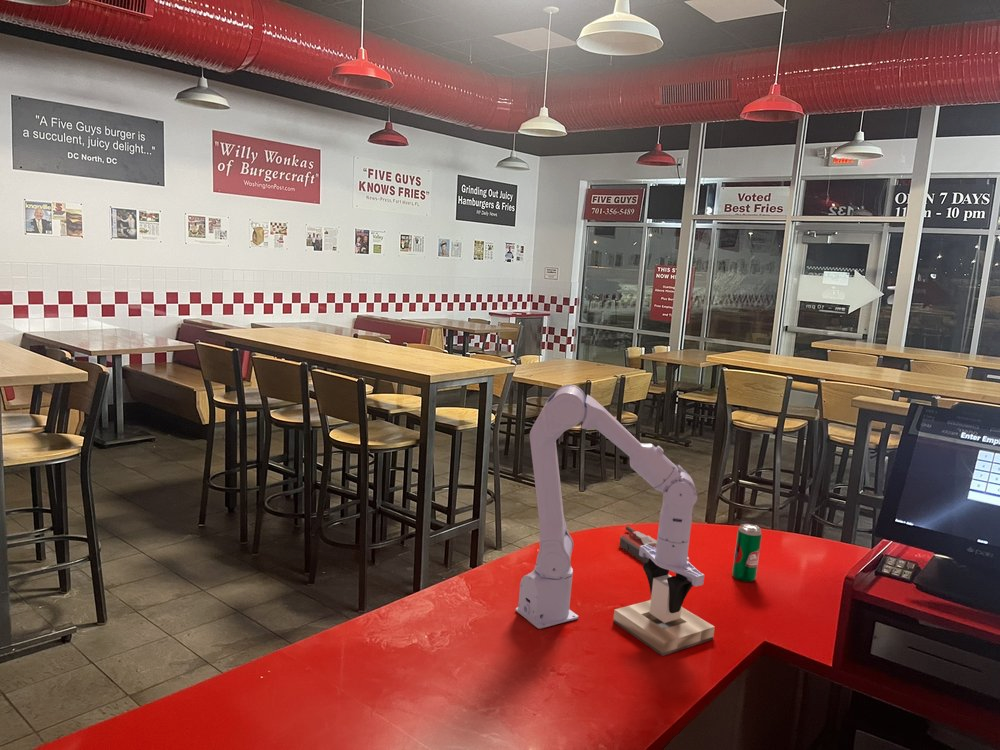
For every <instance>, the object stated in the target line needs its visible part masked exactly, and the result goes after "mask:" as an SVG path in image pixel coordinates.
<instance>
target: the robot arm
mask: <svg viewBox="0 0 1000 750" xmlns="http://www.w3.org/2000/svg"><path fill="white" fill-rule="evenodd" d="M580 423H581V426H580V429H582V430H596V431H598V432H599V433H600V434H602V435H603V436H604V437H605V438H606V439H608V440H609V441H610V442H611V443H612V444H614V445H615V446H616V447H617V448H618V449H619V450H621V451H622V452H623V453H624V454H625V455H627V456H628V457H629V466H630V468H631V469H632V470H634V471H635V473H637V475H638V476H640V477H641V478H642V479H643V480H644V481H645V482H647V484H649V485H650V486H651V487H652V488H653V489H654V490H656V491H658V492H660V493H662V503H661V504H662V506H661V508H660V513H659V520H658V530H657V539H656V541H657V545H656V548H655V547H652V546H650V545H648V544H647V545H642V546H640V550H639V555H640V556H641V557H647V558H648V559H649V561H648V563H643V565H642V570H643V571H644V574H645V575H646V579H647V582H648V584H649V591H650V595H651V594H652V585H653V578H656V577H660V576H664V575H668V574H669V572H672V573H674V574H675V575H673V576H672V575H671V576H672V577H668V578H667V581H668V585H669V593H670V598H669V612H670V613H676V612H679V611H680V609H681V606H682V607H683V603H684V602H685V599H686V597H687V595H688V593H689V592H690V590H692V588H693V587H696V588H697V587H699V586H703V585H704V581H705V574H704V573H702V572H701V571H700V570H698V569H697V568H696V567H695V566H694V565H693V564H692V563H691V562H690V558H689V556H688V555H689V546H690V538H691V530H692V523H693V522H692V521H693V515H692V514H693V513H692V512H693V511H694V510H693V509H694V506H695V504H696V503H697V501H698V499H699V498H698V495H697V489H696V488H697V487H696V486H695V482H694V479H693V478H692V477H691V475H690V474H689V473H688V471H686V470H685V469H683V467H682V466H681V464H678V465H676V464H675V463H673V462H672V460H670V459H669V458H668V457H667V456H666V455H665V454H664V449H663V448H662V447H661V446H660V445H657V446H655V445H654V444H653V443H641V442H640V441H639V440H638V439H637V438H636V437H635V436H634V435H633V434H632V433H631V432H629V430H628V429H626V427H625V426H623V424H622V423H621V422H619V421H618V420H617V419H616V418H615V417H614V416H613V415H612V414H611V413H610V412H609V411H608V410H607V409H606V407H604V406H603V405H602V404H600V403H599V402H598V401H597V400H596V399H595V398H594V397H592V396H591V395H589V394H587V395H586V394H585V392H584V391H583V390H582V389H581V388H580V387H579V386H577V385H574V384H566V385H562V386H561V387H559V388H558V389H556V390H555V391H554V392H553V393H552V394H551V395H550V396H549V397H548V399H547V400H546V402H545V403H544V405H543V407H542V409H541V411H540V413H539V415H538V416H537V418H536V420H535V422H534V423H533V425H532V427H531V429H530V431H529V442H530V450H531V460H532V461H531V462H532V468H533V476H534V486H535V493H536V503H537V513H538V514H537V515H538V519H539V520H538V521H539V522H538V523H539V538H538V540H539V541H538V542H539V551H538V553H537V556H536V563H535V565H534V569H533V570H532V571H531V572H529V573H527V574H526V575H525V574H524V576H522V578H521V580H520V582H519V595H518V606H517V607H516V608H515V611H516V612H517V613H518V614H519V615H521V616H522V617H523V618H524V619H525V620H527V621H528V622H529V623H530V624H531V625H533V626H534V627H535V628H537V629H538V630H541V629H544V628H548V627H551V626H555V625H558V624H563V623H566V622H570V621H574V620H577V619H579V615H578V614H576V613H575V612H574V611H572V610H571V609H570V607H571V606H570V605H571V595H572V584H573V573H574V569H573V567H572V565H571V563H572V561H571V558H572V552H573V550H574V540H573V538H572V536H571V535H570V534H569V531H568V528H567V523H566V519H565V514H564V505H563V504H564V502H563V496H562V485H561V477H560V468H559V467H560V466H559V465H560V464H559V458H558V448H557V440H558V439H559V438H560V437H561V436H562V435H563V434H564V432H566V431H568V430H570V429H572V428H574V427H576V426H577V425H579V424H580Z"/></svg>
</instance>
